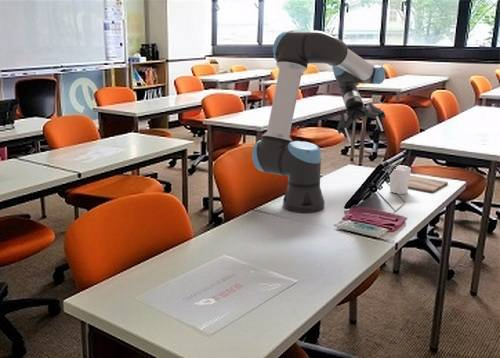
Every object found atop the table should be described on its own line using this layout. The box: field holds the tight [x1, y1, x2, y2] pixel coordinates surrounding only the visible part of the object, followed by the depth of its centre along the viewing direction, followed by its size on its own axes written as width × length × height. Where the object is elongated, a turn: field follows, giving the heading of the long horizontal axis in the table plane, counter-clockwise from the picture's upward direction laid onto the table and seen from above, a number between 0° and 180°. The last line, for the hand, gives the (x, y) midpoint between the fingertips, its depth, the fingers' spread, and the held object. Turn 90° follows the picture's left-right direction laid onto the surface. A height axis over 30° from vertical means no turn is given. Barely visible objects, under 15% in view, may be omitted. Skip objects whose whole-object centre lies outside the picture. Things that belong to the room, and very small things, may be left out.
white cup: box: [389, 164, 412, 195], centre depth 203 cm, size 8×8×10 cm
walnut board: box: [408, 175, 449, 194], centre depth 213 cm, size 16×16×1 cm
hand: (365, 134), depth 208 cm, fingers open, 13 cm apart
